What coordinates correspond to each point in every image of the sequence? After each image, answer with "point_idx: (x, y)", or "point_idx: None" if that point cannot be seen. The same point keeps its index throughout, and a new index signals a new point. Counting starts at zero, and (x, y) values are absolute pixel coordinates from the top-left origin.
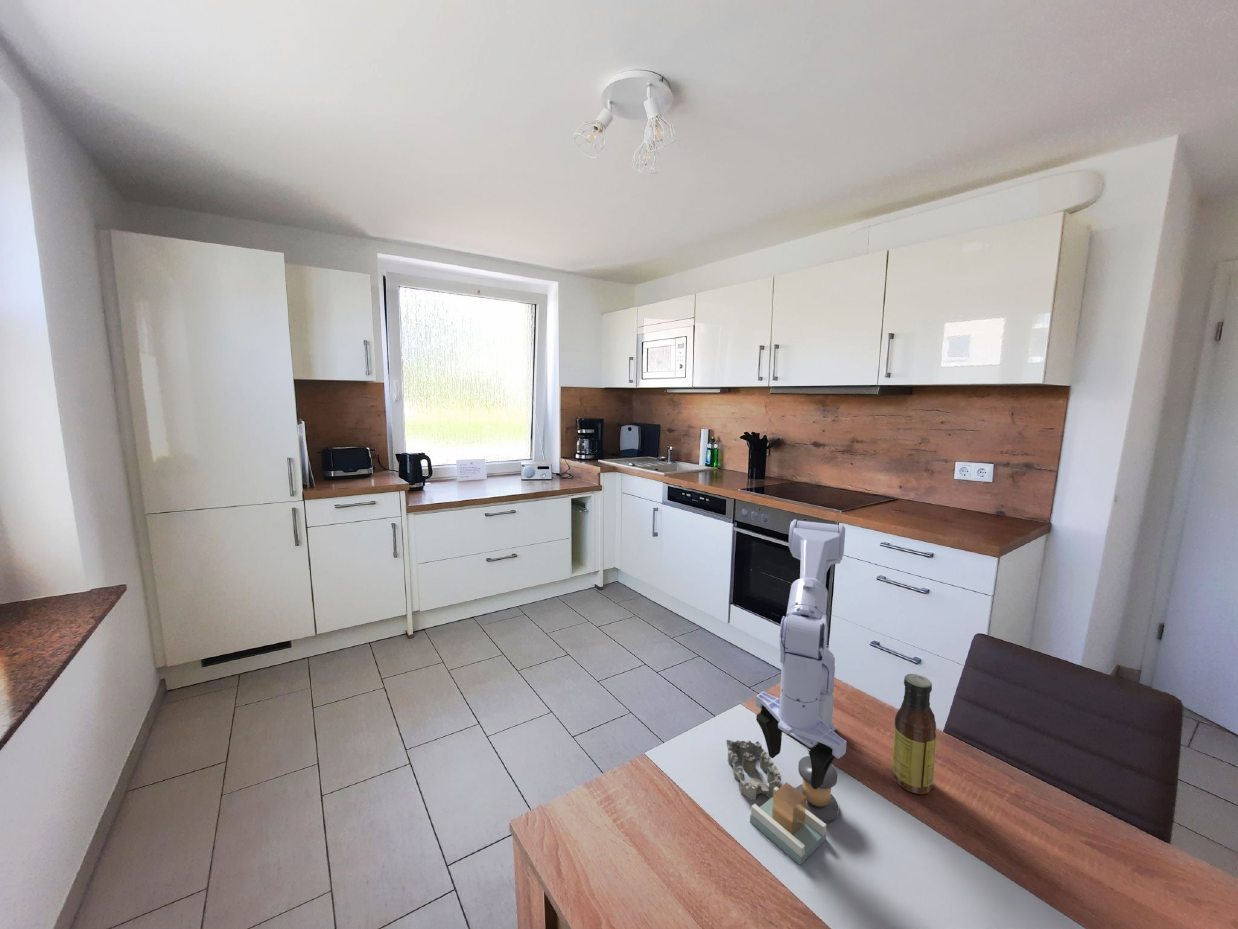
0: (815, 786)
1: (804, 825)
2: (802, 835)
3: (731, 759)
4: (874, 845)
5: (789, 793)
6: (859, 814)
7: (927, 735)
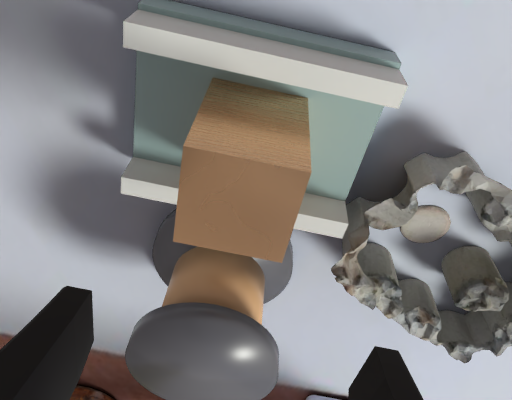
0: (50, 303)
1: None
2: (185, 112)
3: None
4: (40, 224)
5: (242, 216)
6: (119, 286)
7: None
